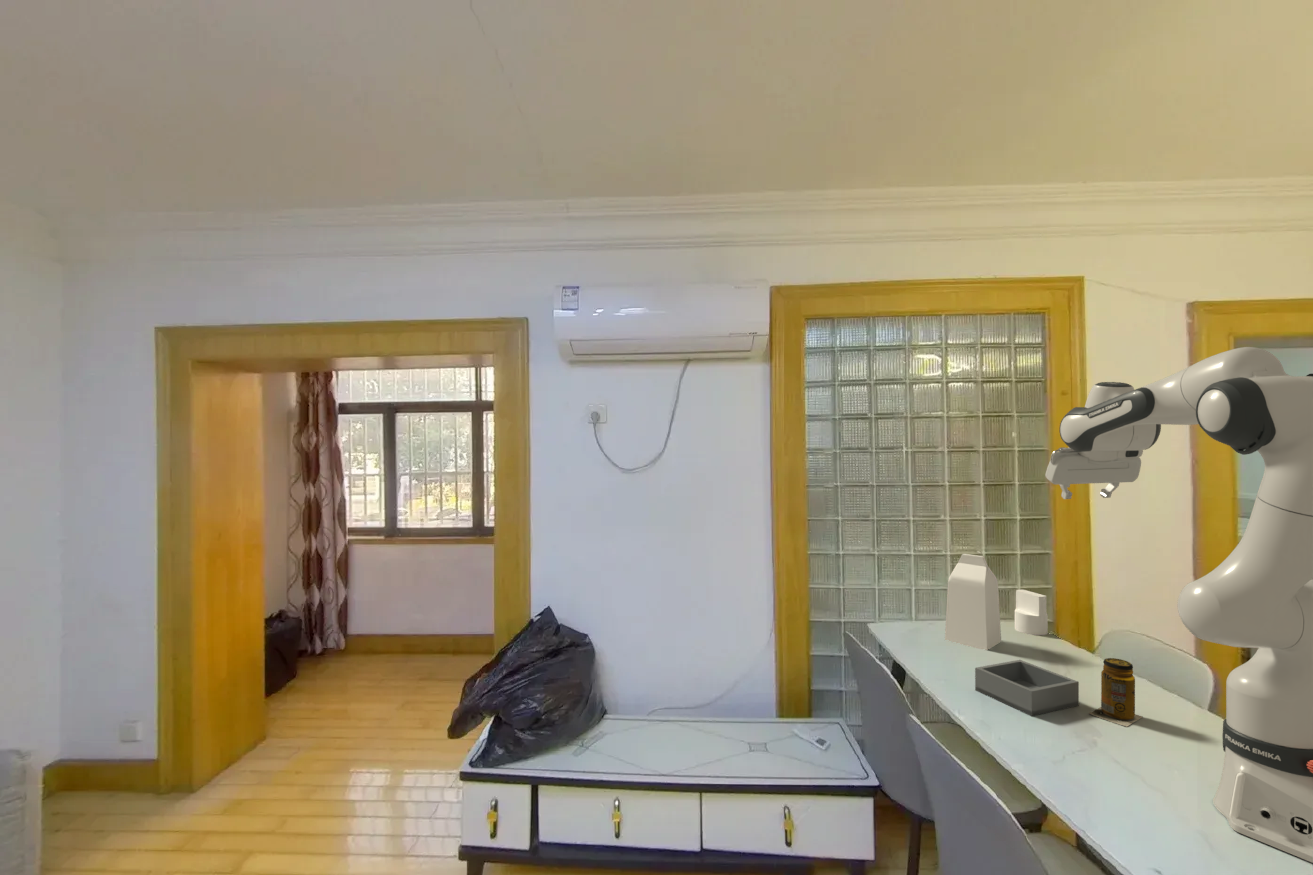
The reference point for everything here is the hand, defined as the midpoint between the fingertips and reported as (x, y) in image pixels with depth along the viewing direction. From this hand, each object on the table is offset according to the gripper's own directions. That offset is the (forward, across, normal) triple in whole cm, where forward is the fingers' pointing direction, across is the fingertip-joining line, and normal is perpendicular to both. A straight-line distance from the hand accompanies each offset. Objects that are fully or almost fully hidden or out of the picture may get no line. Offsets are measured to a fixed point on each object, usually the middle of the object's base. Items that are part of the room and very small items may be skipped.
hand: (1085, 497), depth 154 cm
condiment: (+37, -6, -34) cm, 50 cm away
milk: (+56, -14, +12) cm, 59 cm away
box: (+40, -20, -25) cm, 51 cm away
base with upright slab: (+61, +9, +22) cm, 65 cm away
